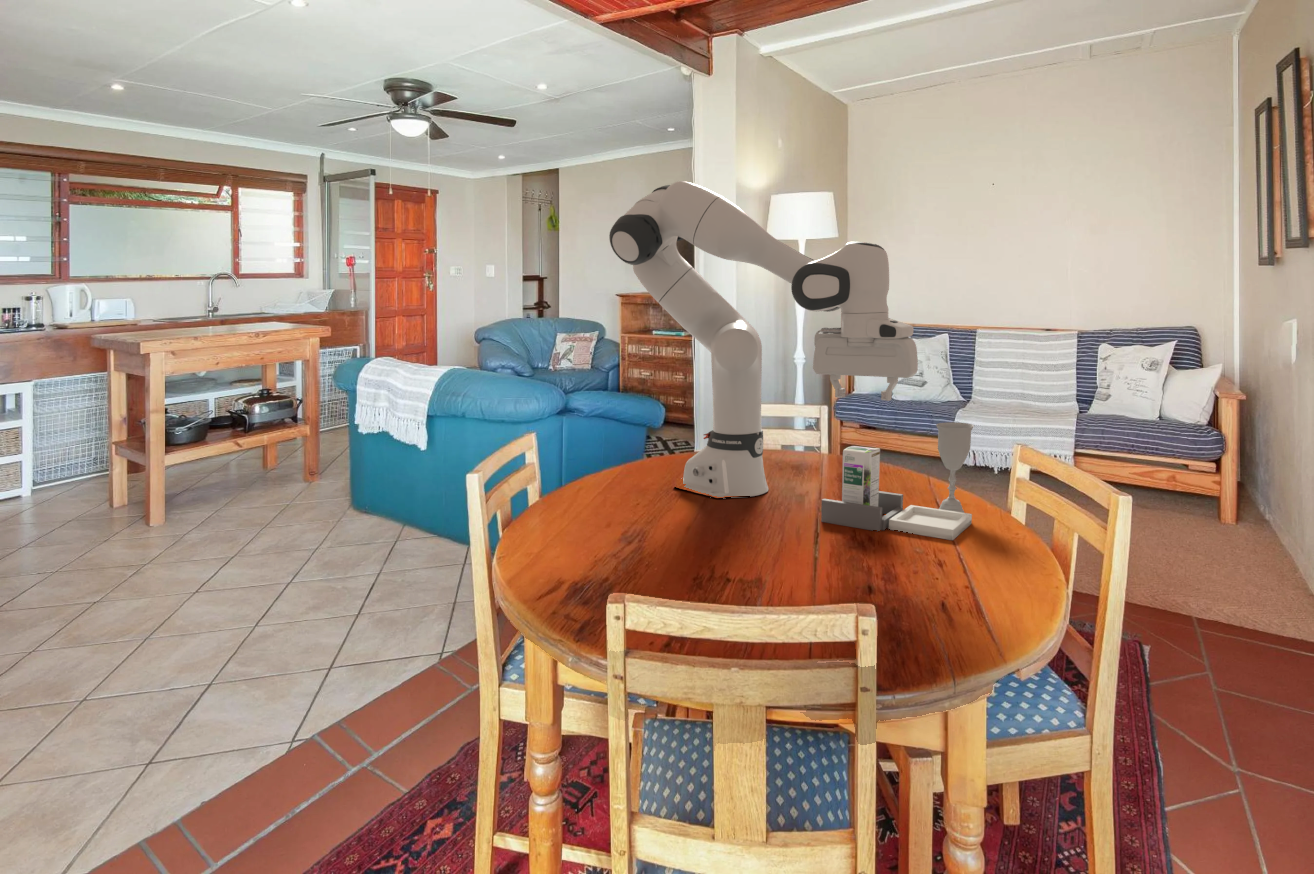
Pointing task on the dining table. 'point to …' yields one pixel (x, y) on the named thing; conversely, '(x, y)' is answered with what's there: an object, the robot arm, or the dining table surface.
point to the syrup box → (861, 475)
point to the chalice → (953, 456)
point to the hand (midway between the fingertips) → (862, 398)
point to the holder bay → (862, 512)
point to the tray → (931, 522)
